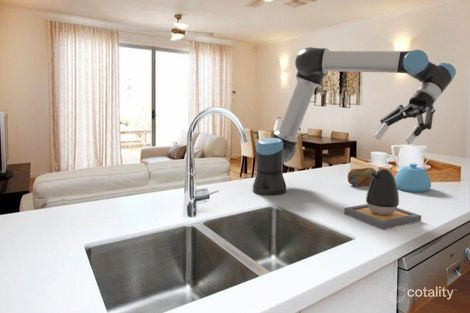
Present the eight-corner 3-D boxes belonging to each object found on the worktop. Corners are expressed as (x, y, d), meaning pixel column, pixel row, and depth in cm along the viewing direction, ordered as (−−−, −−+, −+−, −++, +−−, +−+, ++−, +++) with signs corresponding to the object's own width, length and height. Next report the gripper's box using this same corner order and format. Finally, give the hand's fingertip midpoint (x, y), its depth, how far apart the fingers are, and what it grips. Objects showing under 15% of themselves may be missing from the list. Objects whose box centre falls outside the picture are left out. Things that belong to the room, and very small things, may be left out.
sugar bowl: (397, 183, 159) (399, 160, 157) (433, 188, 149) (435, 163, 147) (389, 189, 147) (391, 164, 145) (427, 195, 138) (429, 168, 136)
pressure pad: (353, 212, 115) (353, 209, 114) (379, 207, 120) (380, 205, 119) (382, 224, 103) (382, 221, 103) (410, 218, 108) (411, 215, 108)
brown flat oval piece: (350, 187, 152) (350, 169, 151) (346, 185, 155) (346, 168, 154) (377, 184, 156) (378, 167, 155) (372, 183, 159) (373, 166, 158)
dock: (344, 213, 116) (344, 207, 115) (379, 206, 122) (379, 201, 122) (382, 229, 100) (383, 223, 100) (420, 221, 107) (421, 215, 107)
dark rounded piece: (358, 210, 114) (360, 167, 111) (379, 206, 118) (382, 165, 115) (382, 219, 104) (385, 173, 102) (404, 214, 109) (408, 170, 106)
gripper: (462, 105, 111) (427, 151, 108) (400, 104, 134) (369, 142, 130) (454, 89, 108) (418, 135, 105) (392, 91, 131) (360, 129, 127)
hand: (391, 139), depth 118 cm, fingers open, 13 cm apart
